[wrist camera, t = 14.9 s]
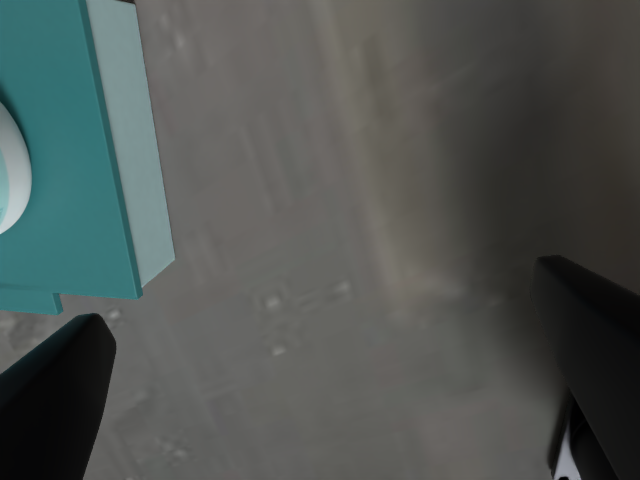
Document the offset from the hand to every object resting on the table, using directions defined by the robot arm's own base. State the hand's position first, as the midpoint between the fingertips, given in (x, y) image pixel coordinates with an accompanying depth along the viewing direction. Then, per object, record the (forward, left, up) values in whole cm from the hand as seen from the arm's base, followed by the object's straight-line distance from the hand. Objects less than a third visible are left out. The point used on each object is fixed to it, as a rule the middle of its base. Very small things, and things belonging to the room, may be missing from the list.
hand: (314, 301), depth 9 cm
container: (+1, +16, -12) cm, 20 cm away
